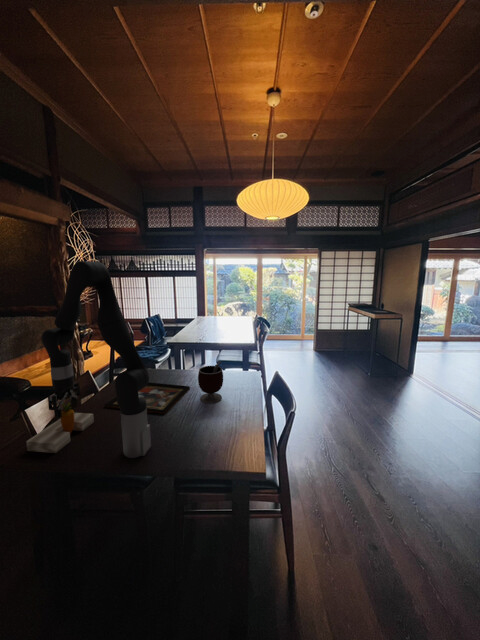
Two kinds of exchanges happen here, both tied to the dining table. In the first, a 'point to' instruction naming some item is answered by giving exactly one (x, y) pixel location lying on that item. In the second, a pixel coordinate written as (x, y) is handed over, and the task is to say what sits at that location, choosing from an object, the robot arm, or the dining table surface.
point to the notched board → (58, 434)
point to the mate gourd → (210, 383)
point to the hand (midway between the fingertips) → (67, 412)
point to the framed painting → (157, 397)
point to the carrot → (67, 418)
